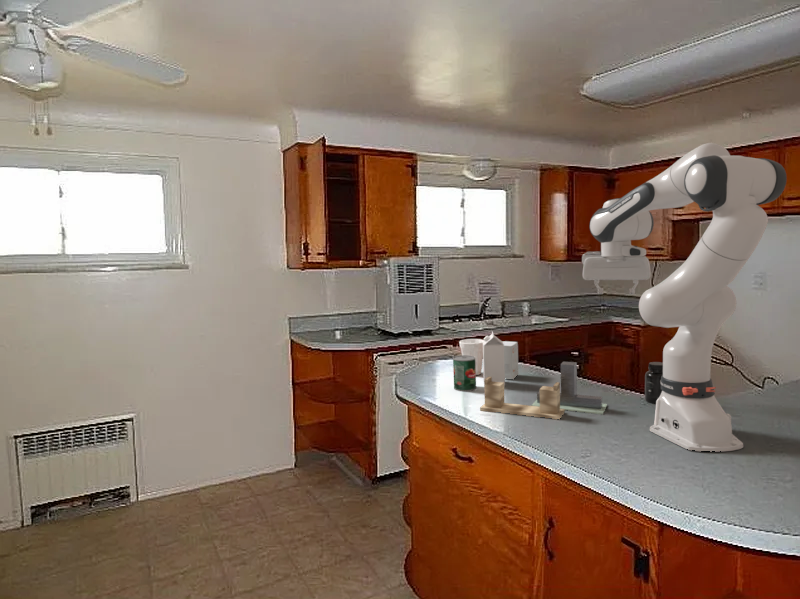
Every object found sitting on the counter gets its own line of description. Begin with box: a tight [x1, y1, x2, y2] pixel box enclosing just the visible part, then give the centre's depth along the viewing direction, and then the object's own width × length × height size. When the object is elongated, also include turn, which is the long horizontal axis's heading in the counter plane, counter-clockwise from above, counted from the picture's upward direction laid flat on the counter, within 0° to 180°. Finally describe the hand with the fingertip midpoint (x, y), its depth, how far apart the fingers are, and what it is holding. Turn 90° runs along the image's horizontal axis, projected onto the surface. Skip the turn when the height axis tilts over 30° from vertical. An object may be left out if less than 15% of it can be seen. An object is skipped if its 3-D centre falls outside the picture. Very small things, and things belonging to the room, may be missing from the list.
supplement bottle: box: [644, 361, 663, 405], centre depth 169 cm, size 7×7×12 cm
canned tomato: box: [452, 355, 477, 392], centre depth 194 cm, size 8×8×11 cm
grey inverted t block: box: [536, 361, 603, 409], centre depth 168 cm, size 19×4×13 cm, turn 62°
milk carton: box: [482, 330, 506, 387], centre depth 197 cm, size 7×7×19 cm
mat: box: [530, 399, 608, 415], centre depth 169 cm, size 21×9×1 cm, turn 62°
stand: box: [479, 377, 566, 421], centre depth 165 cm, size 24×7×10 cm, turn 62°
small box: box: [501, 340, 519, 380], centre depth 206 cm, size 8×6×13 cm
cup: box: [458, 338, 484, 376], centre depth 213 cm, size 10×10×13 cm
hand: (615, 294), depth 175 cm, fingers open, 8 cm apart
